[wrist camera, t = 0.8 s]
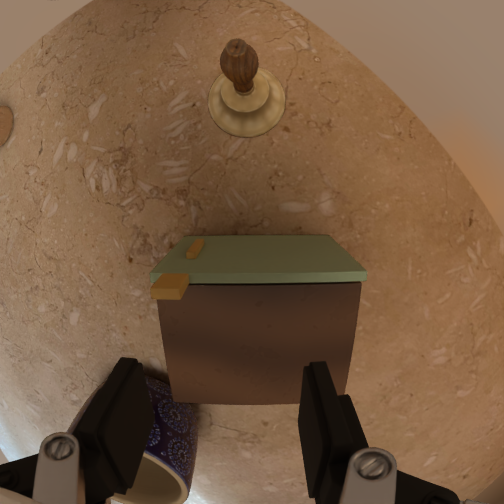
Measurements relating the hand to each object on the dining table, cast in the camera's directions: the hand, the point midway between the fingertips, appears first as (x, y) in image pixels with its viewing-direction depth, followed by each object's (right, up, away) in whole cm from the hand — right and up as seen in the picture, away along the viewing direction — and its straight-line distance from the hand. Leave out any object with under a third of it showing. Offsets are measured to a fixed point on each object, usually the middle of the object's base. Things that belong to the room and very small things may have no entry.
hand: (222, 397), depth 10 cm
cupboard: (+2, 0, +26) cm, 26 cm away
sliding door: (+2, +7, +24) cm, 25 cm away
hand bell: (0, +21, +21) cm, 30 cm away
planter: (-14, -17, +31) cm, 39 cm away
